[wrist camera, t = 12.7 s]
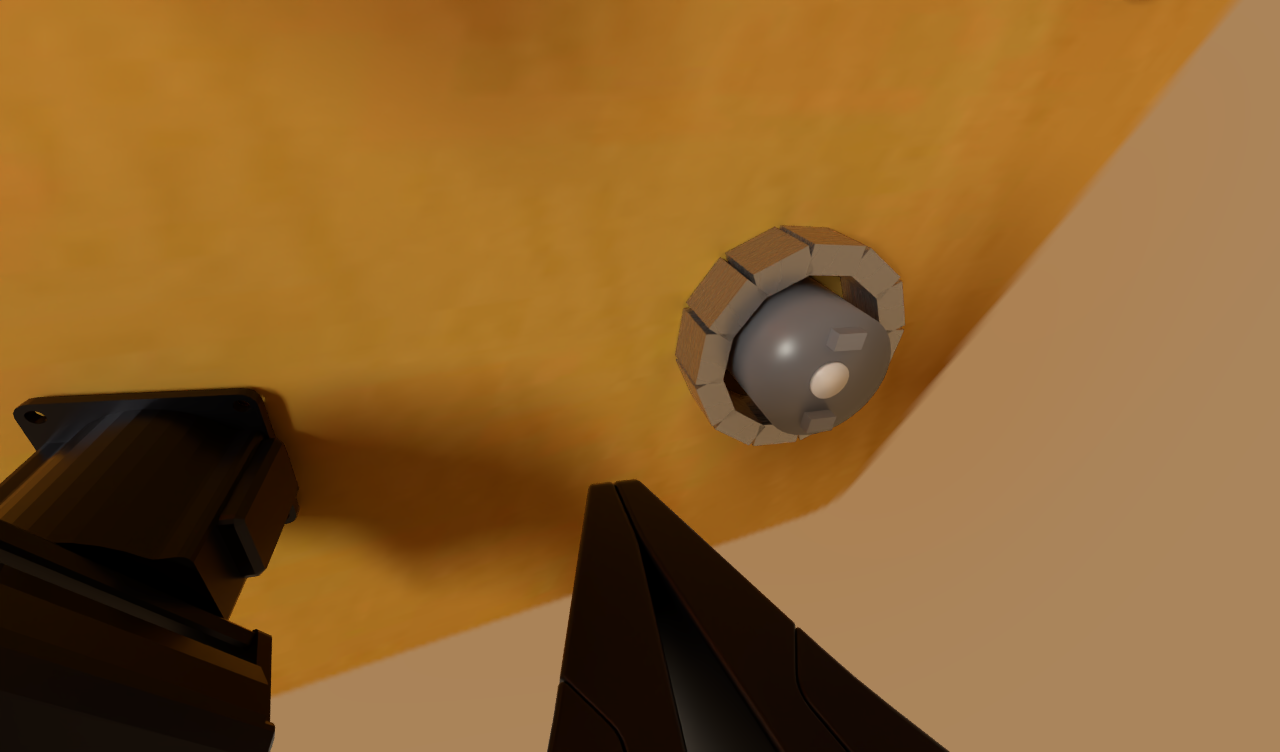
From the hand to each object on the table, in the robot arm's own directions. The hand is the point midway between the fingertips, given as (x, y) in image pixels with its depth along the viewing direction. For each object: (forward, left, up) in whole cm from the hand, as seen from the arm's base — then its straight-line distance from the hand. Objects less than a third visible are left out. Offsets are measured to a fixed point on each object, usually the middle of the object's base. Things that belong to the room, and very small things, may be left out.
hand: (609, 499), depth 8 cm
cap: (+11, -3, -12) cm, 16 cm away
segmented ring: (+11, -3, -12) cm, 17 cm away
